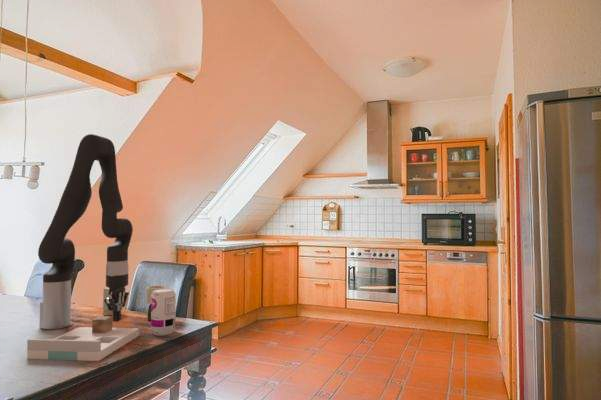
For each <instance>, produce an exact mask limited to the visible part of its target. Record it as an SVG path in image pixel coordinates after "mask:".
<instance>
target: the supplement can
mask: <svg viewBox="0 0 601 400" xmlns="http://www.w3.org/2000/svg"><path fill="white" fill-rule="evenodd" d="M176 296H177V295H176V292H175V290H174V289H173V288H165V289H158V290H154V291H153V293H152V295H151V319H150V333H151V334H152V335H153V336H163V337H164V336H168V335H171V334H173V333H174V332H175V331H176V306H177V305H176Z"/></svg>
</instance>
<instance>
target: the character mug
mask: <svg viewBox="0 0 601 400" xmlns="http://www.w3.org/2000/svg"><path fill="white" fill-rule="evenodd" d="M158 289H166V286H165V285H150V286H147V287H146V291H145V292H146V295H145V296H146V299H145V300H146V301H145V302H146V304H148V308H147V309H148V310H147V320H151V295H152V293H153V291H154V290H158Z"/></svg>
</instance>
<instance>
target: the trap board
mask: <svg viewBox="0 0 601 400" xmlns="http://www.w3.org/2000/svg"><path fill="white" fill-rule="evenodd" d="M139 336H140V328H133V327H131V328H130V327H127V328H126V327H112V330H110V331H108V332H106V333H92V326H91V327H86V326H85V327H84V326H81V327H80V326H79V327H76V328H74V329H72V330H70V331H68V332H65V333H63V334H61V335H59V336H57V337H54V338H51V339H50V338H47V339H43V338H29V339H27V340H26V341H27V343H26V345H27V346H26V352H27V353H26V356H27V357H26V360H53V361H54V360H55V361H56V360H57V361H85V362H88V361H90V362H95V361H96V362H99V361H101V360H102V359H104V358H105V357H107V356H109V355H110V354H112V353H114V352H116V351H117V350H118V349H120V348H122V347H123V346H125V345H126V344H129V343H130V342H131V341H133V340H134V339H136V338H138V337H139ZM113 351H114V352H113Z"/></svg>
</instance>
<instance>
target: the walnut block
mask: <svg viewBox="0 0 601 400" xmlns="http://www.w3.org/2000/svg"><path fill="white" fill-rule="evenodd" d="M91 327H92V333H106V332H108V331H110V330H112V328H113V315H100V316H96V317H95V318H92V320H91Z"/></svg>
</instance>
